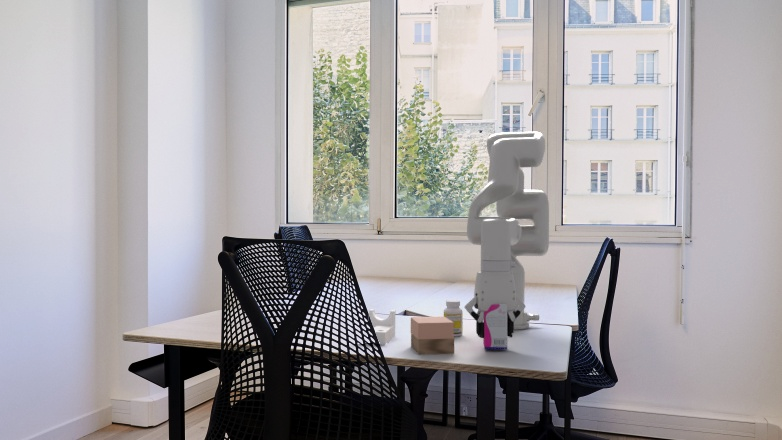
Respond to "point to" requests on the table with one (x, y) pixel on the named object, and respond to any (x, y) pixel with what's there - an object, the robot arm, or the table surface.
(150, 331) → the table surface
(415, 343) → the tower bottom
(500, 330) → the supplement box
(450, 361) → the table surface
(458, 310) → the supplement bottle
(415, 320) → the tower top
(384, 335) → the bracket
